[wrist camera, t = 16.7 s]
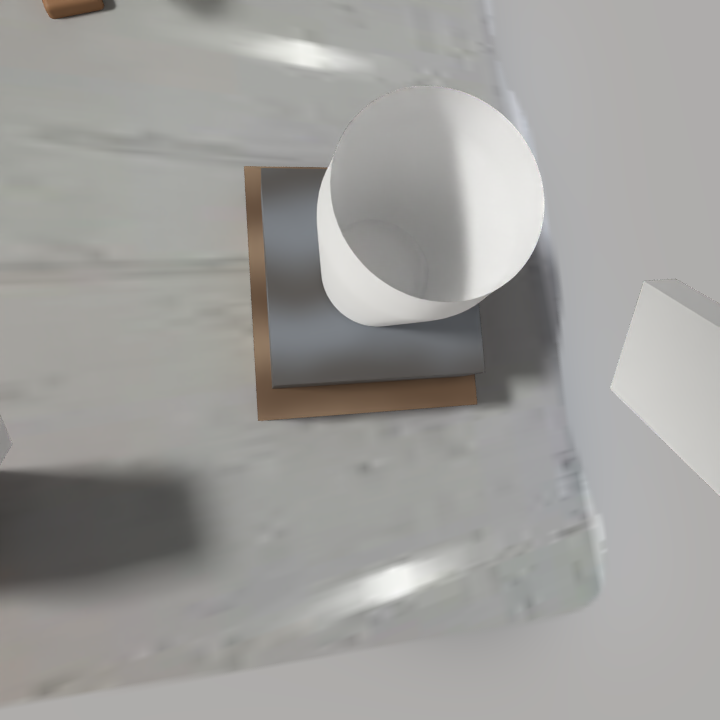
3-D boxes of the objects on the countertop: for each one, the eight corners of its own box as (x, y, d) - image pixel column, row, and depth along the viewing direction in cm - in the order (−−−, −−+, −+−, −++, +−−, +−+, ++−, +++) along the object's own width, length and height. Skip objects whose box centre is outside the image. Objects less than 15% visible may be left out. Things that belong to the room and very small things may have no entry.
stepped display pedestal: (245, 191, 39) (241, 135, 31) (437, 192, 42) (477, 141, 34) (258, 420, 38) (257, 421, 30) (456, 405, 41) (503, 403, 33)
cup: (295, 202, 32) (316, 76, 20) (438, 201, 33) (535, 85, 22) (306, 351, 31) (334, 313, 19) (452, 342, 32) (560, 301, 21)
